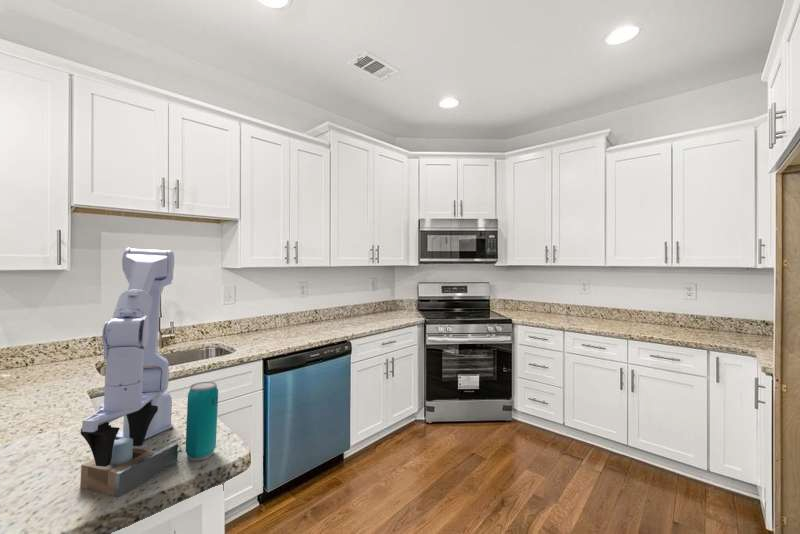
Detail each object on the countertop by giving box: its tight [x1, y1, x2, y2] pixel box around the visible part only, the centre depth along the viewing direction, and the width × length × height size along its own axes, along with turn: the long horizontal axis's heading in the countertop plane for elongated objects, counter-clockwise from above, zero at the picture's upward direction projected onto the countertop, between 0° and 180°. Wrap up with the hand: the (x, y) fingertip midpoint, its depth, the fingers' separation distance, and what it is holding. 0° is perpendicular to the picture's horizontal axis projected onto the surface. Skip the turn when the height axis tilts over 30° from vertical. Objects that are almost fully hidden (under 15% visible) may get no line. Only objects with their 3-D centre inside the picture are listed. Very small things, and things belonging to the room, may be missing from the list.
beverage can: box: [185, 381, 219, 462], centre depth 79 cm, size 6×6×15 cm
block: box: [79, 446, 157, 497], centre depth 69 cm, size 8×8×4 cm
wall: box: [114, 442, 179, 498], centre depth 70 cm, size 12×1×4 cm, turn 165°
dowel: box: [110, 438, 134, 467], centre depth 69 cm, size 3×3×7 cm
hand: (120, 454), depth 69 cm, fingers open, 7 cm apart
